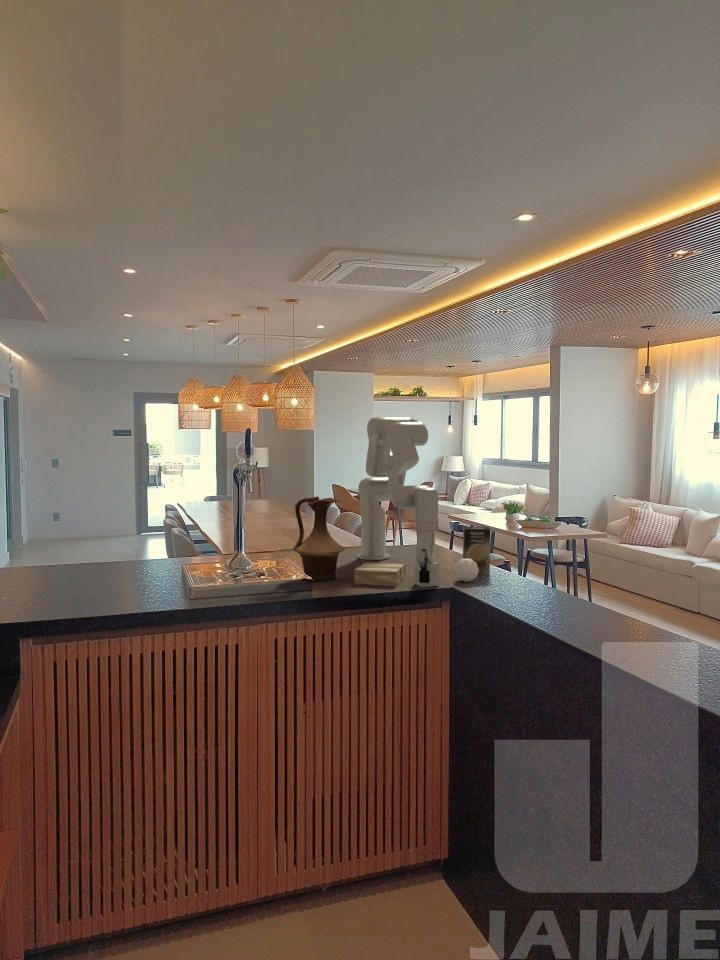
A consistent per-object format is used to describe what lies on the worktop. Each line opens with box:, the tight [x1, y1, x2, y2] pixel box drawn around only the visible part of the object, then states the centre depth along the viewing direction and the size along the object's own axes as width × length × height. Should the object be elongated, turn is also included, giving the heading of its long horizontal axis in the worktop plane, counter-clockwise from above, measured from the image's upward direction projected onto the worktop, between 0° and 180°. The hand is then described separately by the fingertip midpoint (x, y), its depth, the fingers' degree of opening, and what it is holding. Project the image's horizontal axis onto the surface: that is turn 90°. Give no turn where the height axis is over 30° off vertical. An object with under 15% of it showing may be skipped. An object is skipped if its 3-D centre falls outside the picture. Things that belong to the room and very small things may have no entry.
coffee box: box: [462, 526, 491, 576], centre depth 237 cm, size 9×6×16 cm
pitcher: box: [292, 496, 346, 582], centre depth 231 cm, size 18×17×28 cm
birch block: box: [353, 561, 406, 587], centre depth 228 cm, size 14×14×5 cm
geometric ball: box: [454, 557, 479, 583], centre depth 225 cm, size 8×8×8 cm
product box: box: [413, 560, 440, 588], centre depth 220 cm, size 6×6×7 cm
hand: (426, 579), depth 221 cm, fingers closed on product box, 8 cm apart
